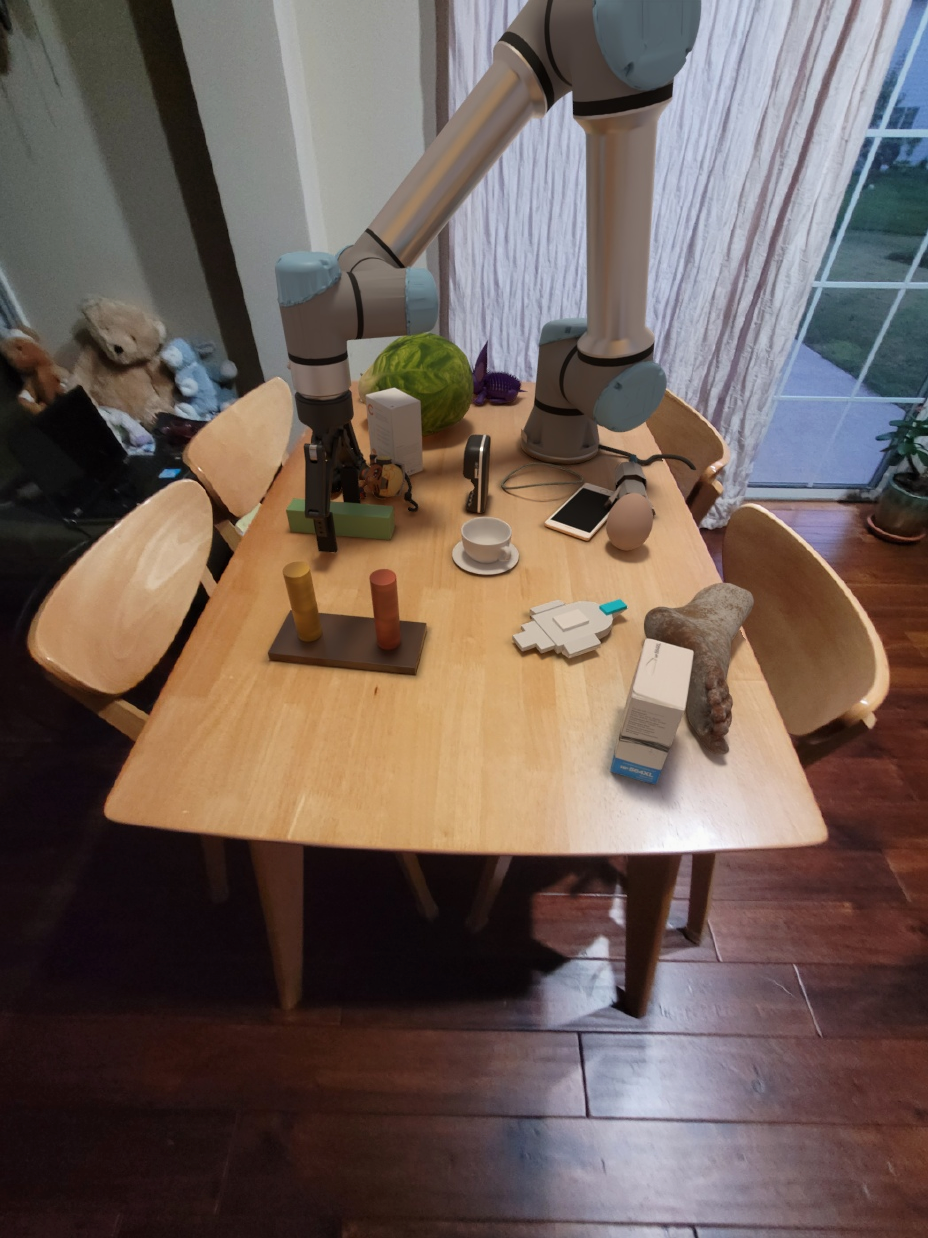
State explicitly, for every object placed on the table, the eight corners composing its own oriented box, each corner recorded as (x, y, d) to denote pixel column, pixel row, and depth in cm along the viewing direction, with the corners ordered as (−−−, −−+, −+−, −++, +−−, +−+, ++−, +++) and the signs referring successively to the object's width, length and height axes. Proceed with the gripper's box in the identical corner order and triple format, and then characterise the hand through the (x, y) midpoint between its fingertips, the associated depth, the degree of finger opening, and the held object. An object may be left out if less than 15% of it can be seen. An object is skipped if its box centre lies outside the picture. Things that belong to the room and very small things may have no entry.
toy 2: (655, 541, 94) (645, 485, 103) (671, 511, 89) (659, 455, 99) (603, 531, 93) (597, 476, 103) (617, 500, 88) (610, 446, 98)
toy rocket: (499, 614, 75) (499, 628, 76) (537, 661, 68) (536, 675, 69) (602, 580, 80) (601, 594, 81) (648, 621, 73) (645, 635, 74)
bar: (395, 527, 93) (393, 505, 90) (390, 540, 90) (388, 517, 87) (297, 519, 94) (293, 497, 91) (290, 531, 91) (285, 509, 89)
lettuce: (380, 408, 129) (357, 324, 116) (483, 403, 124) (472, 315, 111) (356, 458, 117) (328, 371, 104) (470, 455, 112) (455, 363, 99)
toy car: (362, 465, 108) (360, 444, 105) (356, 498, 99) (353, 476, 96) (316, 465, 107) (312, 444, 104) (305, 499, 98) (301, 476, 96)
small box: (423, 471, 107) (421, 400, 98) (395, 481, 104) (390, 409, 95) (398, 455, 111) (394, 386, 103) (370, 464, 108) (363, 394, 100)
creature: (448, 393, 135) (447, 337, 127) (524, 391, 137) (529, 336, 128) (451, 408, 128) (451, 350, 120) (531, 406, 130) (537, 349, 122)
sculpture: (731, 721, 55) (871, 695, 57) (637, 576, 70) (750, 560, 72) (706, 768, 61) (834, 743, 63) (625, 625, 76) (730, 609, 78)
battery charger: (466, 492, 101) (467, 429, 94) (488, 494, 101) (491, 430, 93) (461, 513, 96) (461, 448, 88) (483, 515, 96) (486, 450, 88)
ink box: (656, 787, 58) (688, 712, 50) (606, 771, 60) (630, 696, 52) (666, 724, 64) (696, 648, 56) (621, 710, 66) (645, 634, 58)
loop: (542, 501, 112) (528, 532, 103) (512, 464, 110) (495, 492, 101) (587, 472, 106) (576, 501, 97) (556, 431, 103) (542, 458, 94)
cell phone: (626, 498, 100) (627, 495, 100) (588, 541, 90) (588, 538, 90) (585, 485, 103) (586, 482, 103) (543, 525, 93) (543, 522, 93)
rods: (426, 629, 75) (424, 558, 68) (415, 674, 69) (411, 603, 62) (291, 616, 76) (274, 546, 69) (269, 659, 70) (247, 587, 63)
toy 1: (335, 447, 94) (399, 496, 89) (376, 428, 99) (439, 473, 94) (338, 485, 100) (397, 532, 95) (376, 465, 105) (435, 509, 100)
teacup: (438, 553, 87) (438, 527, 84) (488, 530, 92) (489, 504, 89) (482, 586, 82) (483, 559, 79) (532, 559, 87) (535, 533, 84)
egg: (652, 544, 90) (666, 492, 84) (635, 565, 86) (650, 511, 80) (612, 530, 93) (623, 478, 87) (594, 550, 88) (605, 497, 82)
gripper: (323, 357, 87) (339, 485, 101) (259, 426, 68) (290, 571, 82) (372, 361, 86) (382, 489, 100) (321, 431, 68) (342, 576, 82)
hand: (341, 526), depth 91 cm, fingers open, 13 cm apart
